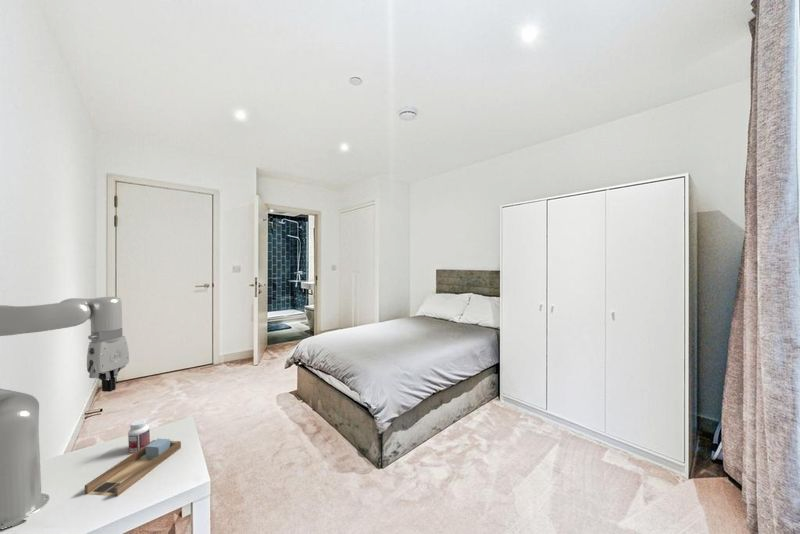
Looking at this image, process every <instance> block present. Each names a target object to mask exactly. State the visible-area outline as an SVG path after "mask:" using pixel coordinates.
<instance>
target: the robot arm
mask: <svg viewBox="0 0 800 534" xmlns="http://www.w3.org/2000/svg"><path fill="white" fill-rule="evenodd" d="M122 304H123V303H122V300H121V298H120V297H119V296H100V297H96V298H79V297H77V298H76V297H75V298H66V299H63V300H62V301H60V302H57V303H48V304H35V305H25V306H24V305H23V306H19V305H16V306H15V305H5V304H4V305H3V304H2V305H1V304H0V337H5V336H6V337H7V336H15V335H16V336H17V335H23V334H24V335H25V334H34V333H40V332H49V331H54V330H61V329H67V328H72V327H73V328H74V327H77V326H79V325H82V324H84V323H86V322H87V321H88V320H89V321H90V335H88V336H87V338H88V340H90V342H89V344H88V348H87V352H86V353H87V354H86V355H87V356H86V368H87V369H86V370H87V372H88V373H89V375H88V377H89V379H98V380H100V381H101V391H102V392H103V393H105V392H108V393H109V392H113V391H115V390H116V389H117V388H116V387H117V386H116V384H117V383H116V378H117V377H118V375H119V372H120V371H121V370H122V369H124V368H125V367H126V366H127V365H128V364H129V363H130V355H129V354H130V353H129V346H128V345H129V344H128V341H127V339H126V336H125V335H123V310H122V309H123V307H122V306H123V305H122ZM39 415H40V403H39V400H38V398H36V397H35V396H33V394H29V393H25V392H22V391H21V392H20V391H16V390H12V389H11V390H10V389H5V388H4V389H3V388H0V529H2V528H5V527H9V526H12V527H14V526H17V525H20V524H22V523H24V522H26V521H27V519H26V518H29V517H30V516H33V515H34V514H36V513H37V512H38V511H40V510H41V509H43V508H44V507H45V505H47V504H48V503H49V500H50V495H49V494H47V493H42V477H41V454H40V453H41V452H40V451H41V450H40V435H39V433H40V430H39V424H40V423H39V419H40V417H39Z"/></svg>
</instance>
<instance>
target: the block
mask: <svg viewBox="0 0 800 534" xmlns="http://www.w3.org/2000/svg"><path fill="white" fill-rule="evenodd" d="M154 440H155V441H153V440H152V441H153V442H152V443H150V444H149V445H147V446H146V457H147V458H156V457H157V456H159V455H160V454H162V453H163V452H164V451H166V450H167V449H168V448H170V441H171V439H170V438H156V439H154Z"/></svg>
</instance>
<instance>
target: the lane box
mask: <svg viewBox="0 0 800 534" xmlns="http://www.w3.org/2000/svg"><path fill="white" fill-rule="evenodd" d="M155 440H156V439H153V440H150V443H152V442H153V441H155ZM150 443H148V444H147V445H149V444H150ZM147 445H145V446H144V447H142V448H141V449H139V450H138V451H136V452H135V453H131V454H130V455H129V456H127V457H126V458H124V459H123V460H122V461H119V462H118V463H117V464H115V465H113V467H112V466H111V468H109V469H107V470H106V471H105V472H103V473H101V474H100V475H99V476H97V477H95V478H94V479H93V480H91V481H89V482H87V483H86V484H85V485H84V494H85V495H92V496H93V495H96V496H108V497H109V496H110V497H119V496H120V495H122V494H123V493H124V492H125V491H127V490H128V489H129V488H130V487H132V486H133V485H135V484H136V483H137V482H138V481H140V480H141V479H143V477H145V476H146V475H148V474H149V473H150V472H152V471H153V470H155V468H157V467H158V466H159V465H161V464H162V463H164V462H165V461H166V460H168V459H169V458H170V457H171V456H172V455H174V454H175V453H177V452H178V451H179V450H181V449H182V441H180V440H178V441H177V440H170V448H168V449H167V450H166V451H164V452H163V453H162V454H160V455H159V456H157V457H156V458H147V457H146V446H147Z"/></svg>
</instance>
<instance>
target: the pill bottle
mask: <svg viewBox="0 0 800 534" xmlns="http://www.w3.org/2000/svg"><path fill="white" fill-rule="evenodd" d="M129 427H130V429H129V430H128V432H127V437H128V441H127V442H128V453H129V454H133V453H135V452H136V451H138V450H139V449H141V448H142V447H144V446H145V445H147V444H148V443H150V442H151V436H150V435H151V433H150V431H151V430H150V426H149V424H147V419H146V418H140V419H136V420H134V421H132V422H131V423H130V425H129Z"/></svg>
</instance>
